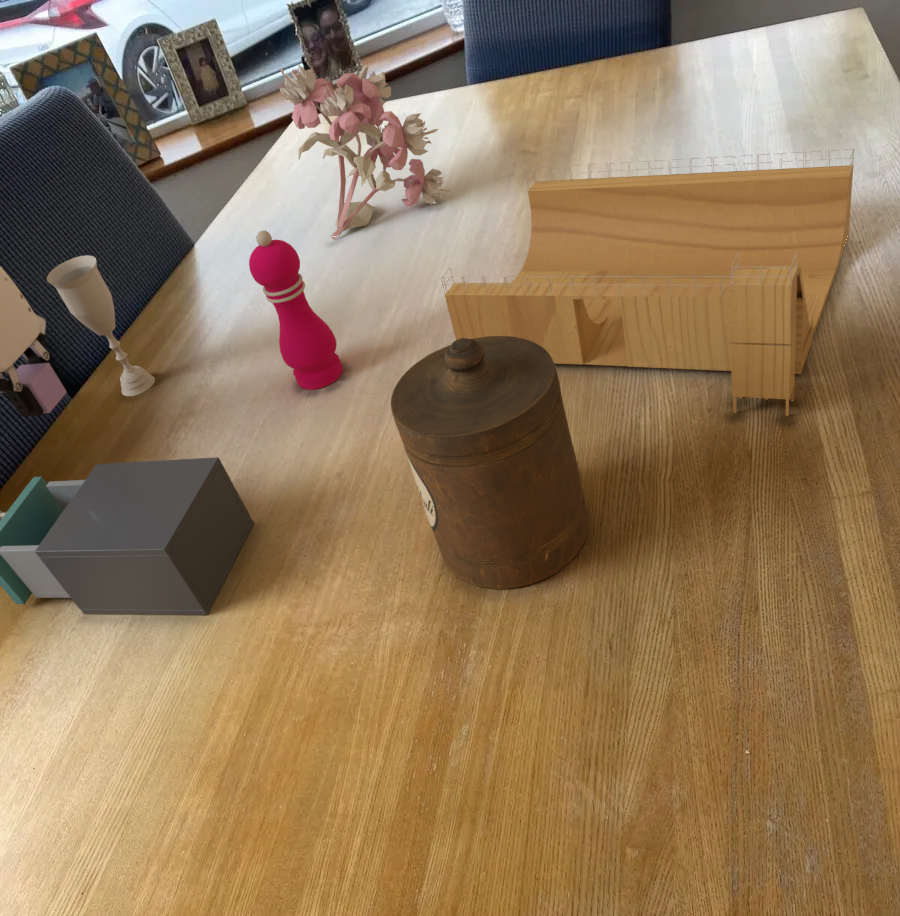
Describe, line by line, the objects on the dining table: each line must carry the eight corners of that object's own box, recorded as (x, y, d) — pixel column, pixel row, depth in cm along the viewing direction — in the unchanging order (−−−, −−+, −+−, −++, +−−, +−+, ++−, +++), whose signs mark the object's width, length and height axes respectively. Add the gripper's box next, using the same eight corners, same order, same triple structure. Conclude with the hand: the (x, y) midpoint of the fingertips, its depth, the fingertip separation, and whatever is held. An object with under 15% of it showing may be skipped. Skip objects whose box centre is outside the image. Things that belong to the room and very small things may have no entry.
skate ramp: (849, 244, 115) (858, 105, 104) (789, 416, 95) (792, 267, 84) (546, 249, 133) (526, 131, 122) (440, 394, 113) (405, 269, 101)
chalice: (166, 384, 132) (102, 266, 119) (122, 407, 131) (52, 290, 118) (152, 364, 137) (89, 249, 124) (110, 386, 136) (41, 272, 123)
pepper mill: (286, 377, 125) (224, 235, 111) (334, 353, 126) (278, 209, 112) (305, 399, 120) (242, 254, 106) (354, 374, 121) (299, 227, 107)
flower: (389, 257, 138) (398, 62, 126) (272, 237, 148) (270, 54, 136) (460, 248, 153) (474, 73, 142) (350, 230, 163) (354, 66, 152)
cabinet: (83, 614, 101) (34, 551, 95) (138, 526, 110) (96, 463, 103) (207, 615, 96) (164, 549, 90) (254, 523, 105) (218, 456, 98)
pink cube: (21, 414, 118) (1, 385, 115) (39, 394, 121) (20, 364, 118) (49, 413, 117) (30, 383, 114) (67, 392, 120) (48, 362, 116)
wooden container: (471, 481, 100) (415, 297, 85) (606, 489, 94) (572, 292, 79) (419, 582, 92) (346, 397, 76) (564, 599, 86) (517, 401, 70)
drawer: (-28, 603, 106) (-72, 555, 101) (28, 527, 114) (-10, 478, 109) (124, 604, 99) (86, 552, 94) (172, 523, 107) (140, 471, 102)
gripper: (-27, 235, 113) (52, 365, 125) (-114, 311, 102) (-17, 445, 115) (23, 228, 110) (99, 362, 123) (-60, 305, 99) (33, 443, 112)
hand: (42, 401), depth 119 cm, fingers closed on pink cube, 4 cm apart
